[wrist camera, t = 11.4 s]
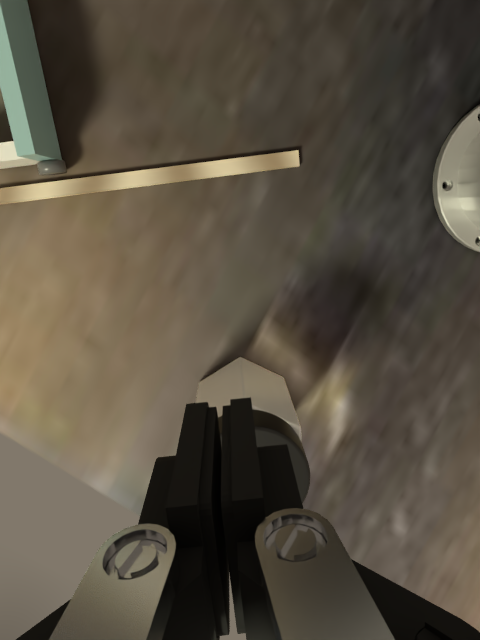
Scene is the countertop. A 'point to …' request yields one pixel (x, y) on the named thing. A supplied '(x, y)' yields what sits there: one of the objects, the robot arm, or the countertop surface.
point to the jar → (260, 409)
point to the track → (149, 177)
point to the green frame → (25, 95)
